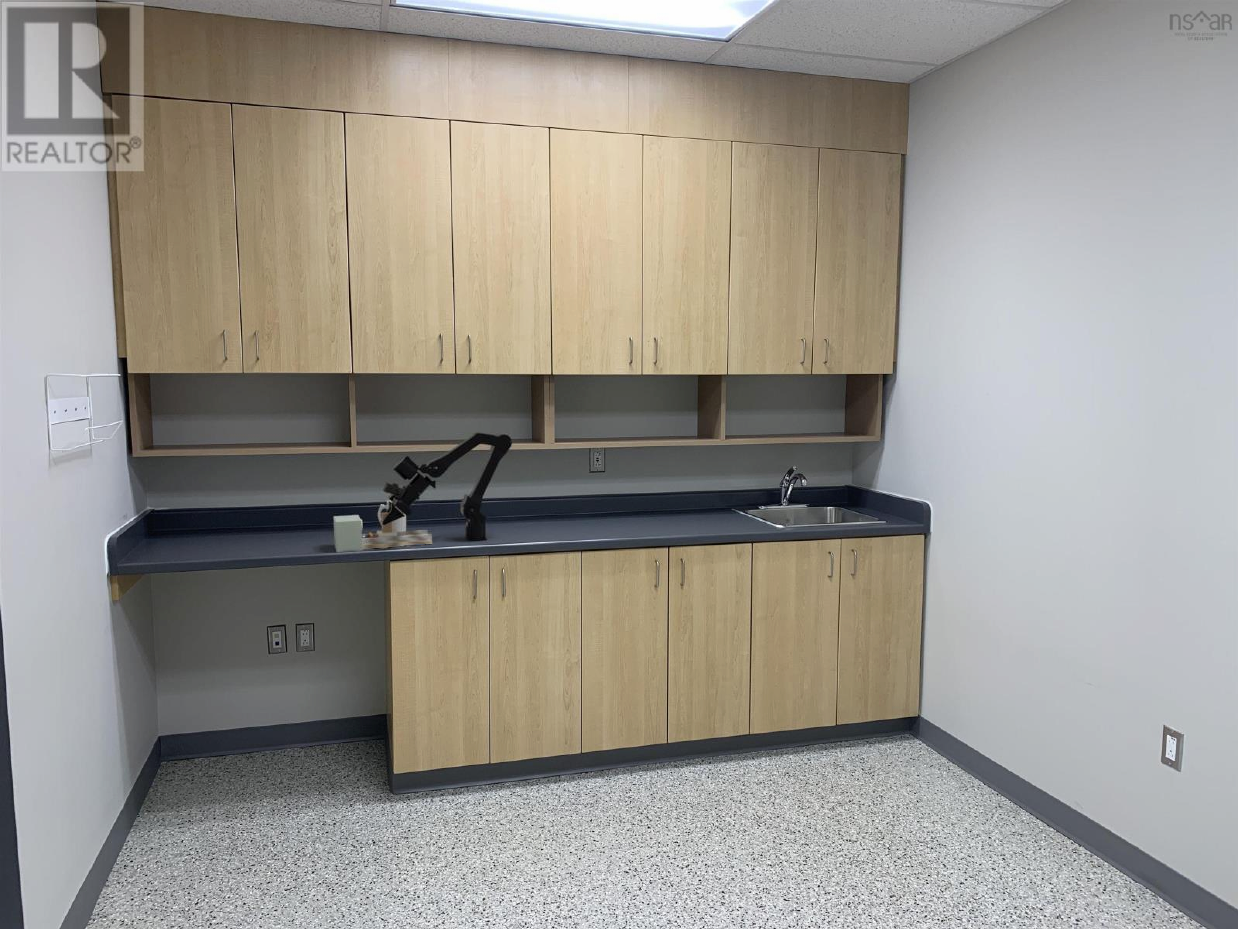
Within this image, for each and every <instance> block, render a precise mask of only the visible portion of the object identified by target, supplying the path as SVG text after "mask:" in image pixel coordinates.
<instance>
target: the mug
mask: <svg viewBox="0 0 1238 929" xmlns="http://www.w3.org/2000/svg"><path fill="white" fill-rule="evenodd" d="M388 501H390V502H391V500H389V499H388V500H387V501H386V505H385V504H382V503H381V504H380V506H379V507H378V511H377V518H378V521H379V523H380V526H382V522H381V520H382V518H381V513H382V510H384V509H386V511H387V510H388V508H389V502H388ZM404 515H405V514H404ZM392 530H396V532H402V531H407V516H406V515H405V517H402V518H399V519H397V520H395V521H392Z"/></svg>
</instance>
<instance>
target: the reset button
mask: <svg viewBox="0 0 1238 929" xmlns="http://www.w3.org/2000/svg"><path fill="white" fill-rule="evenodd" d="M372 533H373V532H368V533H366V534H367V535H362V538H373V534H372Z"/></svg>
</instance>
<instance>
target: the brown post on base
mask: <svg viewBox="0 0 1238 929" xmlns="http://www.w3.org/2000/svg"><path fill="white" fill-rule="evenodd" d="M388 513H389V512H387V511H385V512H381V519H382V522H383V520H384V519H385V518H386V516H387V515H388ZM376 533H377V537H391V536H397V532H396V530H392V522H390V523H388V524H386V525H383V524H382V525H381V530H376Z"/></svg>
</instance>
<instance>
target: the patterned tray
mask: <svg viewBox="0 0 1238 929" xmlns="http://www.w3.org/2000/svg"><path fill="white" fill-rule="evenodd" d="M371 533H372V534H373V538H362V550H361V551H364V550H363V549H367V550H373V549H372V548H380V549H389V548H388V547H394V548H397V547H396V546H404V545H414V544H432V545H433V534H432V533H429V530H428V529H420V530H419V529H418V530H406V531H402V532H397V536H391V537H377V532H376V533H373V532H371ZM367 534H368V533H362V535H367Z"/></svg>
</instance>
